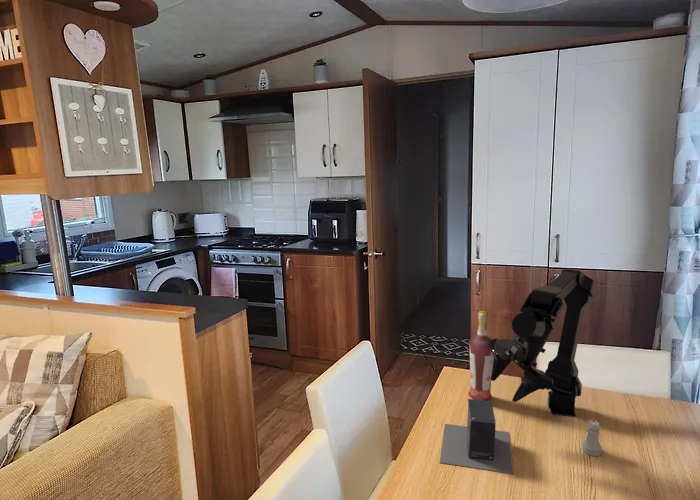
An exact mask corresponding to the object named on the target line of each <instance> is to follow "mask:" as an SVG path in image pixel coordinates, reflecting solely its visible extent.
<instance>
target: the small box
mask: <svg viewBox="0 0 700 500" xmlns="http://www.w3.org/2000/svg"><path fill="white" fill-rule="evenodd" d="M493 407H494V406H493V402H492V401H490V400H488V401H483V400H473V399H472V398H468V399H467V424H466V427H467V448H468V457H469V458H477V459H485V460H494V446H495V430H496V426H497V425H496V424H497V423H496V417H495V412H494V408H493Z"/></svg>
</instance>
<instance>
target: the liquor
mask: <svg viewBox="0 0 700 500" xmlns="http://www.w3.org/2000/svg"><path fill="white" fill-rule="evenodd" d="M477 314H478V315H477V319H478V327H477V333H476V335H474V336H472V337H471V338H470V339H469V341H468V342H469V379H470V380H469V381H470V383H469V385H470V387H469V392H468V395H469V397H470V399H473V400H483V401H490V400H491V399H492V397H493V395H492V393H491V391H492V380H491V375H492V369H493V363H494V357H493V354H492V352H491V351H490V349H492V348H491V347H489V344H490V342H491V341H492V340H493V338H491V337H490V336H488V327H487V322H488V317H489V316H488V314H489V313H488V311H486V310H480V311H478V313H477ZM492 350H493V349H492Z"/></svg>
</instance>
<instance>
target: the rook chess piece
mask: <svg viewBox="0 0 700 500" xmlns="http://www.w3.org/2000/svg"><path fill="white" fill-rule="evenodd" d="M586 427H587V429H586V432H587V435H586V437H585V439H584V440H583V442H582V445H581V449H582V451H583V452H584V453H585V454H586V455H588V456H591V457H598V456H600V455H601V454H602V450H603V449H602V446H601V443H600V440H599V435H600V430H601V429H602V426H601V425H600V421H599V422H598V420H595V421H594V419H590V420H589V419H588V422H586Z"/></svg>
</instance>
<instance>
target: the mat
mask: <svg viewBox="0 0 700 500" xmlns="http://www.w3.org/2000/svg"><path fill="white" fill-rule="evenodd" d="M510 438H511V437H510V432H509V431H503V430H497V429H495V446H494V460H485V459H477V458H469V457H468V448H467V425H466V426H464V425H459V424H458V425H457V424H449V423H444V427H443V436H442V443H441V451H440V456H439V457H440V458H439V464H444V465H449V466H450V465H452V466H458V467H464V468H468V469H469V468H470V469H478V470H483V471H488V472H489V471H490V472H495V473H496V472H498V473H501V474H502V473H503V474H509V475H514V470H513V469H514V468H513V459H512V450H511V440H510Z"/></svg>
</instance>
